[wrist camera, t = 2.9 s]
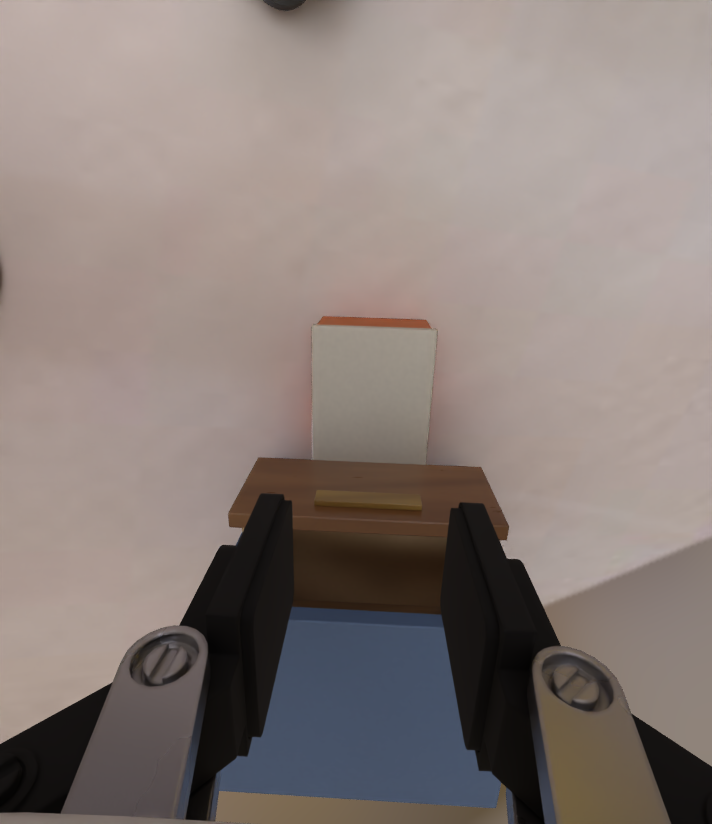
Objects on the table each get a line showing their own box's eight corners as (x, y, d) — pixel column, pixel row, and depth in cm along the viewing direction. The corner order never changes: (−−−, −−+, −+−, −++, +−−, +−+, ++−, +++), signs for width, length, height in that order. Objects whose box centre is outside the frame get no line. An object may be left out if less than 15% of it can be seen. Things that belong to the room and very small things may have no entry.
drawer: (257, 452, 26) (226, 507, 21) (482, 461, 26) (510, 520, 20) (264, 597, 30) (240, 677, 24) (462, 608, 29) (482, 691, 24)
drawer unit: (273, 455, 37) (196, 615, 21) (464, 463, 37) (533, 633, 21) (277, 580, 42) (216, 791, 26) (449, 588, 41) (496, 809, 25)
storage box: (320, 313, 33) (311, 325, 29) (428, 317, 33) (438, 330, 28) (320, 444, 37) (311, 474, 32) (418, 448, 37) (424, 479, 32)
